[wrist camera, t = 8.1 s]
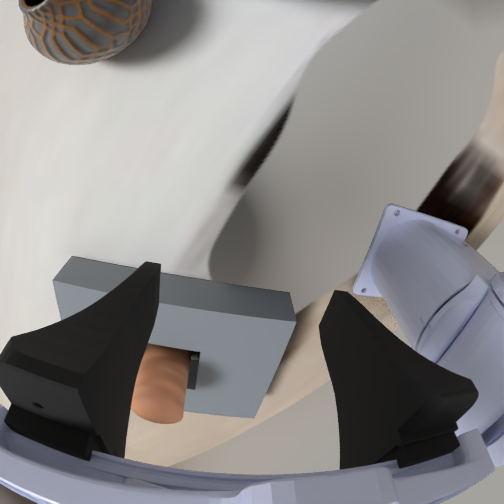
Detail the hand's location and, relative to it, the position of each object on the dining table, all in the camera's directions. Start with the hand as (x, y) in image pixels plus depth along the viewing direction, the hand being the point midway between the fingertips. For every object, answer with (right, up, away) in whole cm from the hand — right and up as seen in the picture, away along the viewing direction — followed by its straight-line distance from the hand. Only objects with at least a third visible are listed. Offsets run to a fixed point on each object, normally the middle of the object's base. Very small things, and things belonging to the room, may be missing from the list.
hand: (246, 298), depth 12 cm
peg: (-7, -6, +14) cm, 16 cm away
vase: (-9, +17, +1) cm, 19 cm away
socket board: (-7, -6, +14) cm, 17 cm away
